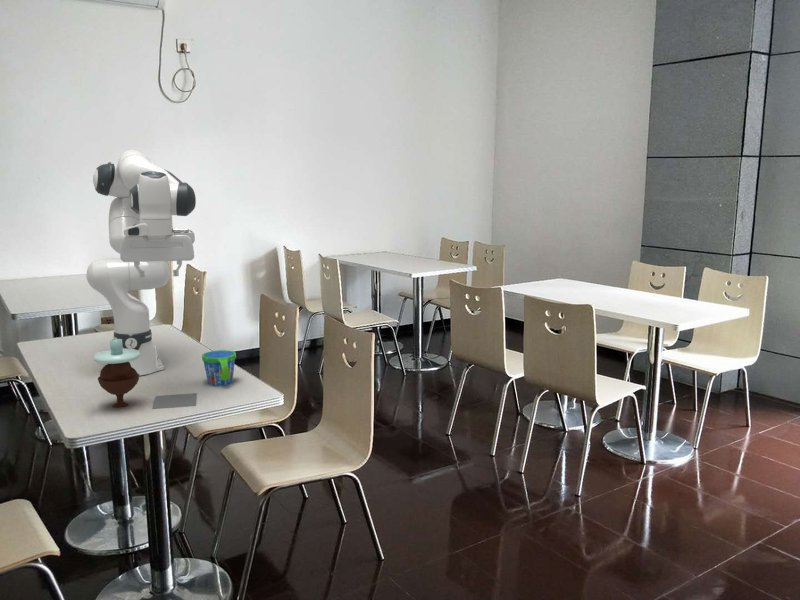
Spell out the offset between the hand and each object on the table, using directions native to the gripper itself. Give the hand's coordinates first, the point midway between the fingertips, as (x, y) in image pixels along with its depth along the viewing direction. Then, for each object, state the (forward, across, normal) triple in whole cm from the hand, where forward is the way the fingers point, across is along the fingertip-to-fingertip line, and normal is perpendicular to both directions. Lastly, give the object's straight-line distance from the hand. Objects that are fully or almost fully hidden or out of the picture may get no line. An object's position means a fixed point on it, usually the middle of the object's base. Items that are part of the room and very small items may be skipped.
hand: (159, 276), depth 202 cm
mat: (+37, -3, +5) cm, 38 cm away
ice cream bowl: (+37, +12, +5) cm, 40 cm away
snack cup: (+37, -16, -11) cm, 42 cm away
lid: (+22, +12, +6) cm, 26 cm away
